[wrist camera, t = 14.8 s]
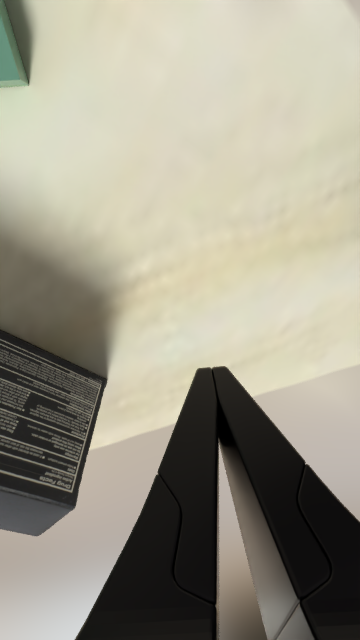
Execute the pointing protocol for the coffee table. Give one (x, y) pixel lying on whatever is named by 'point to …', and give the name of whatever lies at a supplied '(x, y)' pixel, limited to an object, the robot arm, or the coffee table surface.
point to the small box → (42, 434)
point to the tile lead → (9, 54)
